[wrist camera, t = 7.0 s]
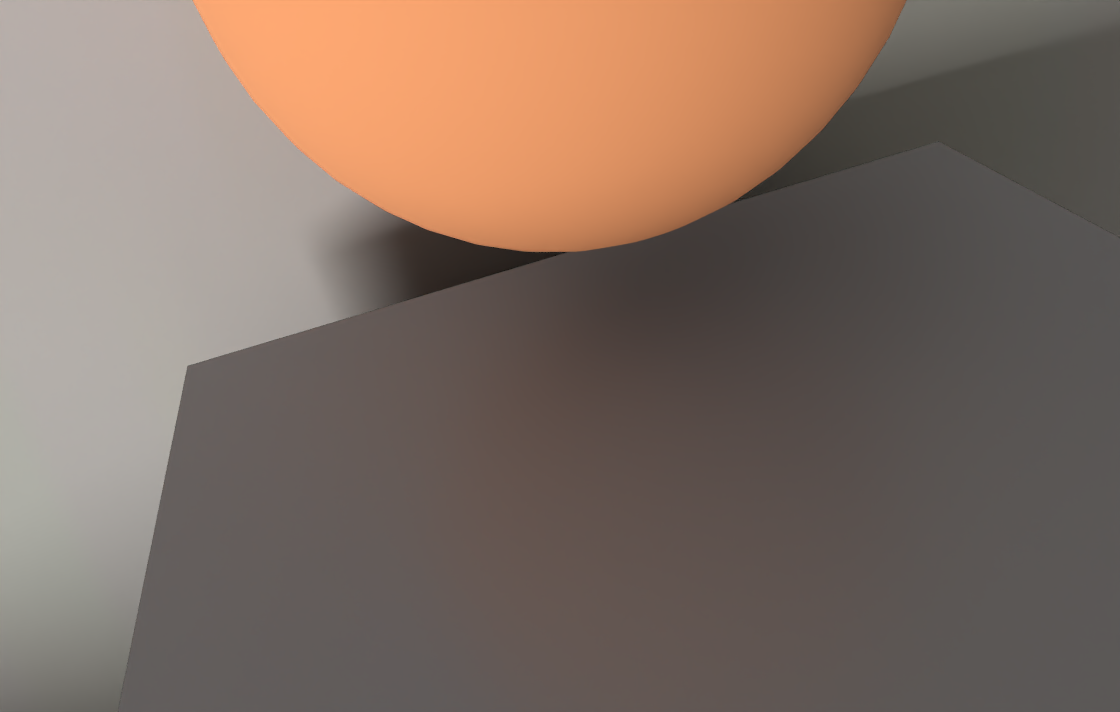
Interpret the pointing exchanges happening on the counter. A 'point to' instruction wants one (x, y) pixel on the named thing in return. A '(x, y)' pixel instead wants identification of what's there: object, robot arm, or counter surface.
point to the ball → (550, 103)
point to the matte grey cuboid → (673, 476)
